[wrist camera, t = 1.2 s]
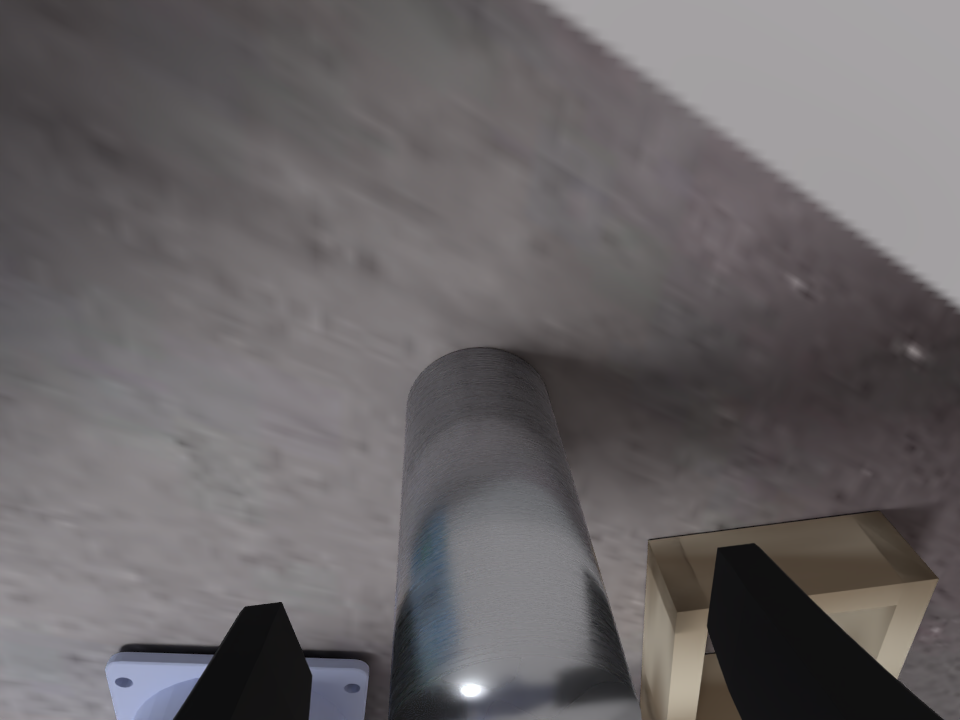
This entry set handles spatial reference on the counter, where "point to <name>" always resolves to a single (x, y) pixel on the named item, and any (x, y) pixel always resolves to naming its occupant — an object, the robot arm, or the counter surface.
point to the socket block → (812, 566)
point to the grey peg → (497, 559)
